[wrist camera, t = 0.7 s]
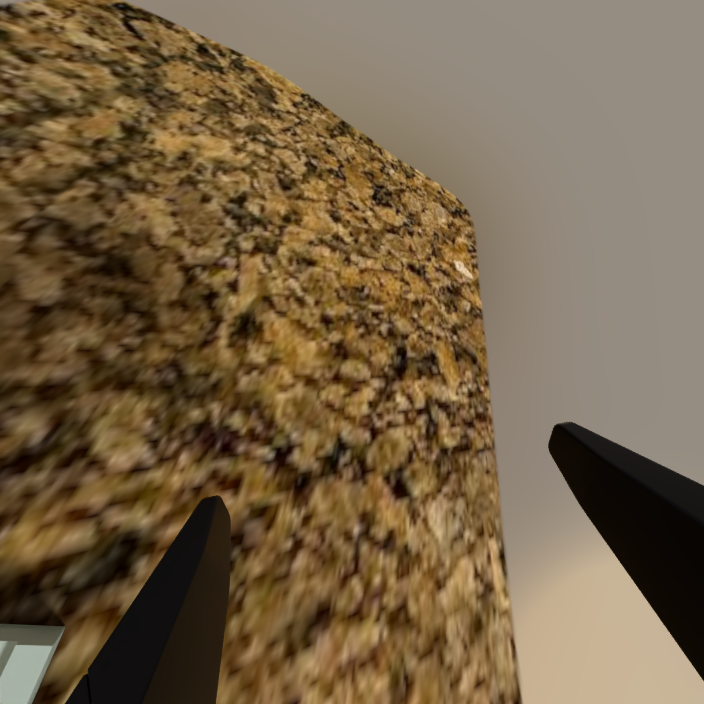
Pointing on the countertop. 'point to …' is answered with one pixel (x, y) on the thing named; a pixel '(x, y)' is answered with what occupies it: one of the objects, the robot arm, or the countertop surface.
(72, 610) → the countertop surface
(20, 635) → the tray shell
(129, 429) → the countertop surface
